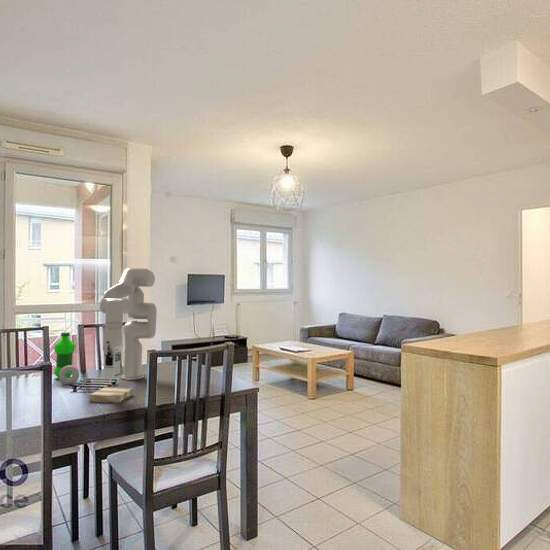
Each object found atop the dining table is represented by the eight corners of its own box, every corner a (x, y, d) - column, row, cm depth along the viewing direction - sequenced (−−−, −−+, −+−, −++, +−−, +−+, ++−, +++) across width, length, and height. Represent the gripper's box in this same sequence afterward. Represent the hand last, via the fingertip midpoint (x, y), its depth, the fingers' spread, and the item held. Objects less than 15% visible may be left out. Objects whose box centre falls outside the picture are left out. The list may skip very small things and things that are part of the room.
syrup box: (114, 378, 192) (115, 347, 193) (102, 377, 194) (103, 346, 194) (121, 376, 198) (122, 345, 198) (109, 375, 199) (110, 344, 200)
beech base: (104, 393, 204) (105, 387, 204) (132, 394, 202) (132, 388, 202) (89, 401, 190) (89, 394, 190) (118, 403, 188) (119, 396, 188)
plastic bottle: (68, 374, 239) (70, 331, 240) (77, 377, 233) (78, 332, 233) (50, 377, 232) (51, 332, 232) (59, 380, 225) (60, 334, 225)
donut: (80, 383, 220) (80, 364, 221) (77, 385, 217) (78, 365, 217) (59, 383, 219) (60, 364, 219) (57, 385, 216) (58, 366, 216)
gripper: (114, 323, 205) (113, 360, 205) (96, 327, 188) (95, 367, 188) (129, 324, 205) (128, 361, 204) (112, 328, 187) (111, 368, 187)
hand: (112, 363), depth 196 cm, fingers closed on syrup box, 6 cm apart
